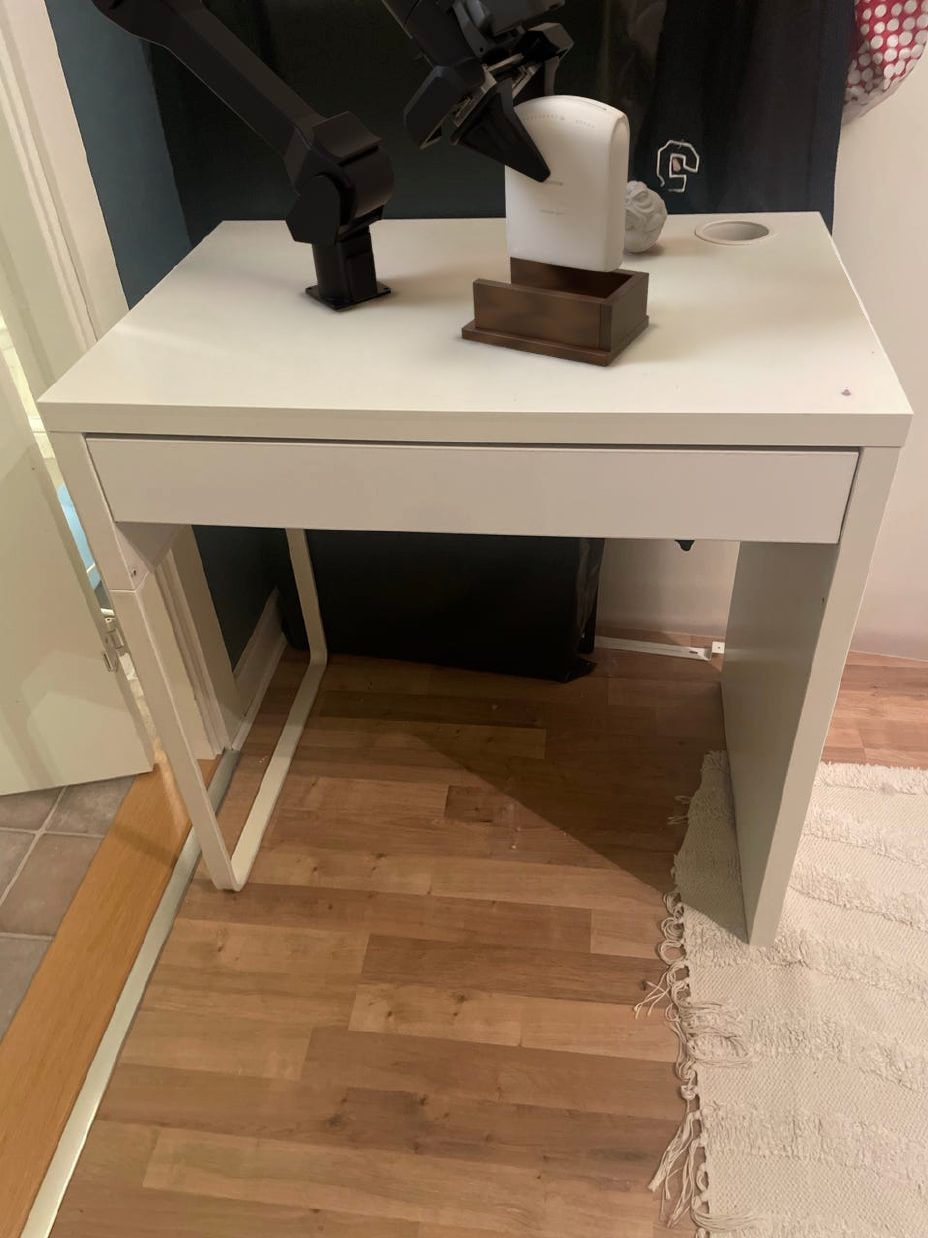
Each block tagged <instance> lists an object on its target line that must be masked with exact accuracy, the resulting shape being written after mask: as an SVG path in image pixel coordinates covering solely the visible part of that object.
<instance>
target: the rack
mask: <svg viewBox="0 0 928 1238" xmlns="http://www.w3.org/2000/svg"><path fill="white" fill-rule="evenodd" d="M509 264H510V265H509V269H510V273H509V274H510V283H509V282H503V281H497V280H491V279H485V278H476V279H475V280H473V281H472V297H473V315H474V318H473V319H472V320H471V321H469V322H468V323H466V324H465V325H464V326H462V327H461V331H460V332H461V339H463V340H467V341H473V342H478V343H482V344H488V345H493V346H499V347H504V348H507V349H513V350H519V351H524V352H530V353H533V354H534V353H535V354H540V355H544V356H551V357H556V358H559V359H565V360H570V361H574V362H580V363H585V364H591V365H596V366H601V367H608V366H609V364H611V362H613V361H614V360H615V359H616V358H617V357H618V356H619V355H620V354H621V353H622V352H623V351H624V350H625V349H626V348H627V347H628V346H629V345H631V344H632V342H634V340H636V339H637V338H638V337H639V336H640V335H641V334H642V333H643V332H644V331H645V330H646V329H647V328H648V327H649V324H650V315H648V314H647V312H648V311H647V310H648V298H649V283H650V273H649V272H647V271H639V270H632V269H626V268H625V269H624V268H620V267H619V268H617V269H615V270H613V271H610V272H602V271H592V270H585V269H579V268H572V267H565V266H559V265H553V264H547V263H541V262H535V261H530V260H524V259H519V258H514V257H511V256H509Z"/></svg>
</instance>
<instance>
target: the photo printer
mask: <svg viewBox="0 0 928 1238" xmlns="http://www.w3.org/2000/svg"><path fill="white" fill-rule="evenodd" d="M514 110H515V112H516V114H517V116H518V117H519V119H520V120H521V122H522V124H523V125H524V127H525V129H526V130H527V132H528V133H529V135H530V137H531V138H532V140H533V142H534V143H535V145H536V146H537V148H538V150H539V151H540V153H541V155H542V156H543V158H544V160H545V162H546V164H547V166H548V168H549V170H550V172H551V174H550V176H549V177H548V178H547V179H546V180H545V181H544V182H542V183H539V182H537V181H535V180H533V179H531V178H529V177H527V176H525V175H523V174H521V173H519V172H517V171H515V170H513V169H511V168H510V167H508V166H506V165H504V181H505V183H504V184H505V185H504V186H505V187H504V189H505V227H506V228H505V229H506V231H505V232H506V249H507V254H508V256H509V257H514V258H519V259H524V260H530V261H535V262H541V263H547V264H553V265H559V266H565V267H572V268H579V269H585V270H592V271H602V272H610V271H613V270H615V269H617V268H619V269H620V267H621V266H622V264H623V256H624V251H625V250H624V235H625V214H626V195H627V183H628V173H629V157H630V138H631V137H630V135H631V131H630V124H629V123H630V122H629V118H628V116H627V114H626V113H624V112H623V111H621V110H620V109H617V108H616V107H613V106H611V105H608V104H607V103H604V102H600V101H599V100H595V99H592V98H587V97H582V96H576V95H564V94H563V95H561V94H560V95H554V96H546V97H540V98H536V99H533V100H529V101H526V102H524V103H521V104H519V105H518V106H516V107H514Z"/></svg>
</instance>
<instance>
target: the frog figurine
mask: <svg viewBox="0 0 928 1238" xmlns="http://www.w3.org/2000/svg"><path fill="white" fill-rule="evenodd" d="M667 219H668V210H667V208H666V204H665V201H664V199H662V197H661V196H660V195H659V194H658V193H657V192H656V191H654V190H652V189H650V188H648V187H647V184H645V183H644V182H643V181H637V180H631V181H629V182H628V181H627V195H626V214H625V235H624V251H626V252H629V253H641V252H645V251H647V250H649V249H650V248H651V247H653V246H654V245H655V244H656V242H657V241H658V240H659V238H660V236H661V233H662V230H663V228H664V226H665V223H666V221H667Z"/></svg>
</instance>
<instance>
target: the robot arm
mask: <svg viewBox="0 0 928 1238" xmlns="http://www.w3.org/2000/svg"><path fill="white" fill-rule="evenodd" d="M347 1H348V2H350V3H354V2H359V0H347ZM91 2H92V4H93V6H94V7H95V8H96V9H97V10H98V12H99V13H100V14H101V15H102V16H103V17H104V18H106V19H108V20H109V21H110V22H112V23H113V24H114V25H116V26H118V27H119V28H120V29H122V30H123V31H124V32H126V33H128V34H129V35H131V36H134V37H137V38H139V39H142V40H145V41H147V42H150V43H153V44H156V45H157V46H158V45H159V46H161V47H163V48H166V49H167V50H168V51H170V52H171V53H172V54H173V55H174V56H175V57H176V58H177V59H178V60H179V61H180V62H181V63H182V64H183V65H184V66H186V67H187V69H189V71H191V72H192V73H193V74H194V75H195V76H196V77H197V78H198V79H199V80H200V81H201V82H202V83H203V84H205V85H206V86H207V88H209V89H210V90H211V91H212V92H213V93H214V94H215V95H216V96H217V97H218V98H219V99H220V100H221V101H222V102H223V103H225V104H226V105H227V106H228V107H229V108H230V109H231V110H232V111H233V112H234V113H235V114H236V115H237V116H238V117H239V118H240V119H242V120H243V121H244V122H245V123H246V125H248V126H249V127H250V128H251V129H252V130H253V131H254V132H255V133H256V134H257V135H258V136H260V138H262V139H263V140H264V142H266V143H267V144H268V145H269V146H270V147H271V148H272V149H273V150H274V151H275V152H276V153H278V154H279V156H280V157H281V158H282V159H283V161H284V165H285V168H286V171H287V174H288V177H289V180H290V183H291V186H292V189H293V190H294V191H295V193H296V194H297V195H298V196H299V197H298V198H297V200H296V201H295V202H294V204H293V206H292V207H291V209H290V210H289V212H288V213H287V215H286V216H285V217H284V221H285V224H286V227H287V229H288V231H289V233H290V235H291V238H292V240H293V242H296V243H302V244H307V245H311V250H312V258H313V262H314V270H315V276H316V283H317V284H314V285H311V286H307V287H305V288H304V293H305V295H307V296H309V297H310V298H312V299H314V300H316V301H318V302H319V303H321V304H323V305H324V306H325V307H328V308H329V309H332V310H333V311H341V310H344V309H348V308H350V307H355V306H357V305H360V304H363V303H366V302H370V301H373V300H376V299H379V298H382V297H383V298H384V297H386V296H389V295H391V294H392V288H391V287H390V286H388V285H386V284H385V283H382V282H380V281H378V278H377V272H376V261H375V254H374V250H373V248H374V247H373V240H372V233H371V227H370V226H371V225H373V224H374V223H376V222H381V221H382V220H384V219H385V213H386V208H387V203H388V201H389V200H390V199H391V197H392V196H393V193H394V189H395V174H394V170H393V167H394V163H393V161H392V159H391V157H390V155H389V154H388V153H387V151H386V150H385V149H384V148H382V147H381V146H380V145H381V144H383V143H384V140H383V138H381V137H378V136H376V135H374V134H372V133H371V132H370V131H369V130H368V129H367V128H366V127H365V125H363V123H362V122H361V120H360V119H359V118H358V117H357V116H356V115H355V114H353V113H352V112H351V111H345V112H343V113H340V114H338V115H335V116H332V117H330V118H326V117H325V116H322V115H320V114H319V113H318V112H316V111H315V110H314V109H313V108H312V107H311V106H309V104H307V102H306V101H304V100H303V98H301V97H300V96H299V95H298V94H297V93H296V92H295V91H293V89H292V88H291V87H290V86H289V85H288V84H286V83H285V82H284V81H283V80H282V79H281V77H279V76H278V75H277V74H276V73H275V72H274V71H272V69H270V68H269V66H268V65H267V64H265V63H264V62H263V61H262V59H260V58H259V57H258V56H257V55H256V54H255V53H254V52H253V51H252V50H251V49H249V47H247V46H246V44H245V43H243V41H241V40H240V39H239V38H238V37H237V36H236V35H235V34H234V33H233V32H232V31H231V30H229V28H228V27H226V25H225V24H224V23H222V22H221V21H220V20H219V19H218V18H217V17H216V16H215V15H214V14H213V13H212V12H211V11H210V10H209V9H207V8H206V6H205V5H204V4H203V2H202V0H91ZM381 2H382V3H383V5H384V6H385V7H386V8H387V10H388V12H390V13H391V15H392V16H393V18H394V19H395V20H396V21H397V23H398V24H399V26H400V27H401V29H403V31H404V32H405V33H406V35H407V36H408V37H409V39H410V41H409V42H408V44H407V45H406V46H405V48H404V50H405V52H406V53H407V55H409V57H410V58H411V59H412V60H413V61H414V60H417V59H420V58H422V57H424V58H425V59H426V61H427V62H428V63H429V64H430V66H431V67H432V70H431V71H430V73H429V75H428V76H427V77H426V79H425V80H424V81H423V83H422V84H421V85H420V86H419V88H418V89H417V91H416V92H415V94H414V95H413V96H412V98H411V99H410V100H409V102H408V103H407V105H406V106H405V107H404V108H403V110H402V112H403V113H402V114H403V123H404V124H403V127H404V131H405V132H406V133H407V135H409V137H410V138H411V140H412V141H413V143H415V145H416V146H417V148H418V149H419V150H423V149H424V148H427V147H429V146H431V145H433V144H435V143H438V142H439V140H440V139H441V138H442V137H443V132H442V125H443V123H444V122H445V121H446V119H447V118H448V117H449V115H451V114H452V116H453V119H452V122H453V123H454V125H455V126H456V127H457V128H456V129H455V130H454V132H453V133H452V134H451V135H450V136H449V138H448V140H447V141H448V143H449V144H451V145H452V146H455V145H458V146H461V147H463V148H466V149H468V150H471V151H473V152H475V153H478V154H480V155H482V156H485V157H486V158H489V159H491V160H493V161H495V162H497V163H499V164H501V165H504V166H505V165H506V166H508V167H510V168H511V169H513V170H515V171H517V172H519V173H521V174H523V175H525V176H527V177H529V178H531V179H533V180H535V181H537V182H539V183H542V182H544V181H545V180H546V179H547V178H548V177H549V176H550V174H551V172H550V170H549V168H548V166H547V164H546V162H545V160H544V158H543V156H542V155H541V153H540V151H539V150H538V148H537V146H536V145H535V143H534V142H533V140H532V138H531V137H530V135H529V133H528V132H527V130H526V129H525V127H524V125H523V124H522V122H521V120H520V119H519V117H518V116H517V114H516V112H515V110H514V107H516V106H518V105H519V104H521V103H524V102H526V101H529V100H533V99H536V98H540V97H546V96H555V92H554V83H555V76H556V70H557V69H558V67H559V66H560V61H561V60H563V58H564V57H565V56H566V55H567V53H568V52H569V51H570V50H571V49H572V48H573V46H574V43H575V42H574V40H573V39H572V38H571V36H570V35H569V34H568V32H567V31H566V30H565V28H564V26H563V25H562V24H561V23H560V22H559V23H557V22H544V23H542V24H538V25H537V26H534V27H532V28H529V29H527V30H526V31H525V30H524V28H523V27H522V25H525V24H527V23H528V22H530V21H531V20H533V19H535V18H537V17H538V16H541V15H542V14H545V13H546V12H548V11H553V12H554V11H556V10H557V9H559V8H561V7H563V6H564V5H565V4H566V1H565V0H381ZM511 48H512V49H511Z"/></svg>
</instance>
